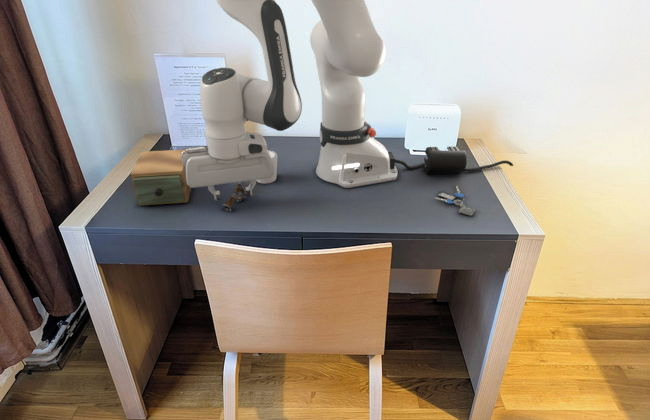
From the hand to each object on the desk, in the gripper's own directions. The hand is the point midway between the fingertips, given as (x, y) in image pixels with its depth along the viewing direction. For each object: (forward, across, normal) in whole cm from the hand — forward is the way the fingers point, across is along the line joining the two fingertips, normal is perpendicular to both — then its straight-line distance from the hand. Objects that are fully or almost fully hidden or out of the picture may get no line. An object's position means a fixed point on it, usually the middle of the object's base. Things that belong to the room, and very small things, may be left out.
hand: (233, 196), depth 104 cm
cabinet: (+2, -16, +11) cm, 19 cm away
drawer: (+1, -16, +8) cm, 18 cm away
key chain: (+2, +52, -14) cm, 54 cm away
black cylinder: (+2, +58, +1) cm, 58 cm away
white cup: (+2, +10, +11) cm, 15 cm away
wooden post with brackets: (+2, 0, 0) cm, 2 cm away
